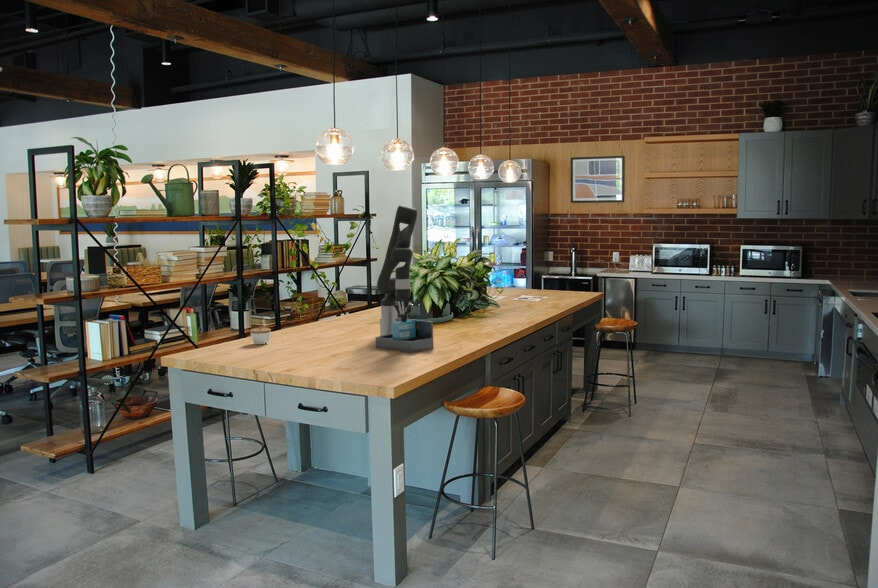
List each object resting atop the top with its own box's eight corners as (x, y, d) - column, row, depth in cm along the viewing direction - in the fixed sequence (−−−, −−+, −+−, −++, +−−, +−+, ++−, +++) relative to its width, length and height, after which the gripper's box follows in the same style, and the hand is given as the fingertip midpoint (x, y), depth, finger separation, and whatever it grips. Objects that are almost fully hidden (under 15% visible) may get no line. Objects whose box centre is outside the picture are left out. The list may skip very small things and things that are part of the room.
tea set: (440, 313, 475) (440, 289, 474) (461, 321, 438) (461, 295, 436) (384, 317, 463) (383, 292, 461) (400, 326, 425) (399, 299, 423)
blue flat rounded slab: (398, 347, 350) (397, 323, 349) (392, 346, 353) (391, 322, 352) (416, 343, 358) (415, 320, 357) (410, 342, 362) (409, 319, 360)
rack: (376, 347, 358) (375, 321, 356) (397, 342, 370) (397, 317, 368) (412, 353, 342) (411, 326, 340) (433, 348, 354) (432, 321, 352)
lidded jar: (266, 345, 370) (265, 328, 369) (247, 345, 372) (246, 328, 371) (274, 342, 381) (274, 325, 380) (256, 341, 383) (255, 324, 382)
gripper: (388, 287, 354) (389, 321, 356) (407, 289, 345) (408, 323, 347) (398, 286, 359) (399, 319, 361) (417, 287, 351) (418, 321, 353)
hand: (404, 321), depth 354 cm, fingers closed
